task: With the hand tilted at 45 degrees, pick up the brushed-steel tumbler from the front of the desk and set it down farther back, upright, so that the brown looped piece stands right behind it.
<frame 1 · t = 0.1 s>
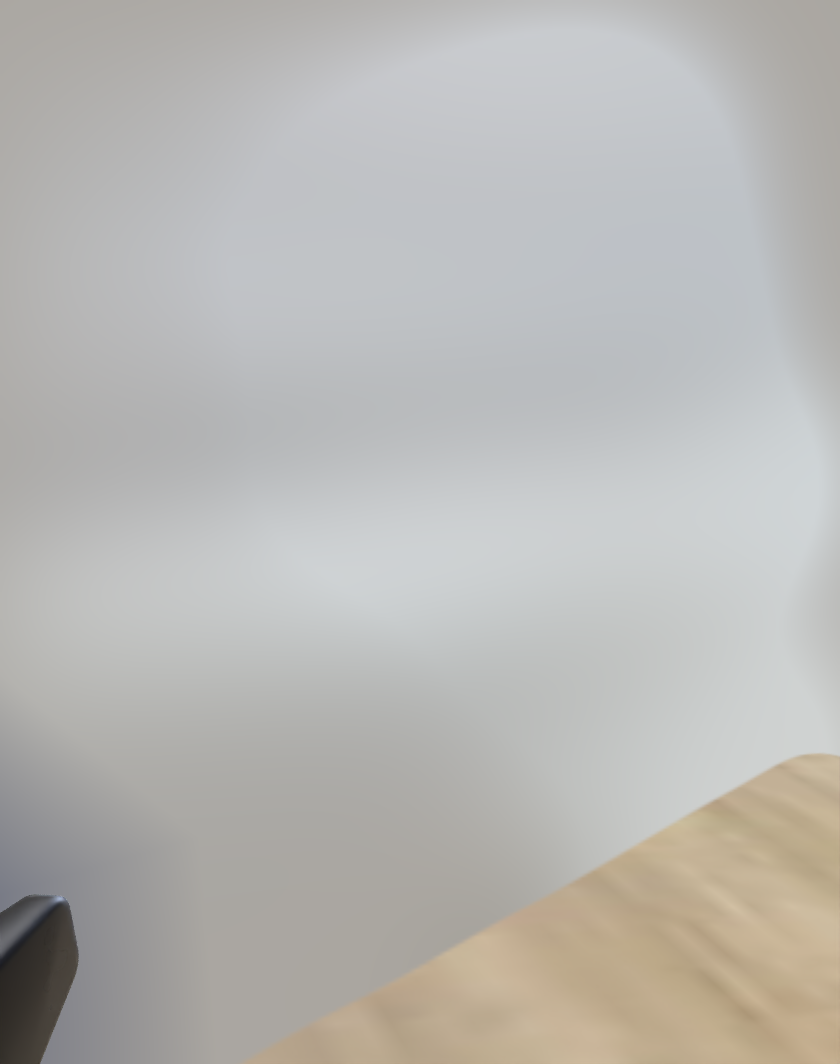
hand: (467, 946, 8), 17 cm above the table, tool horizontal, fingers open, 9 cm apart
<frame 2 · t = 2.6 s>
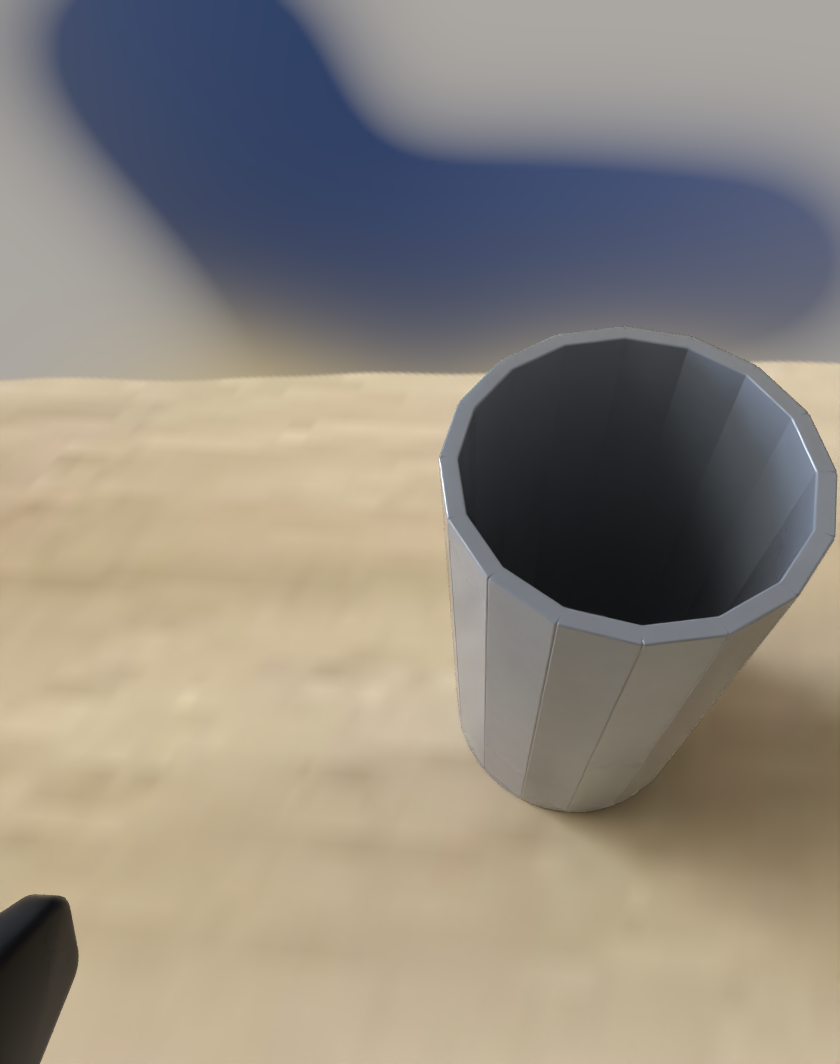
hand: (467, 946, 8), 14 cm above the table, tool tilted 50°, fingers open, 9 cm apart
tumbler: (565, 701, 24), on the table
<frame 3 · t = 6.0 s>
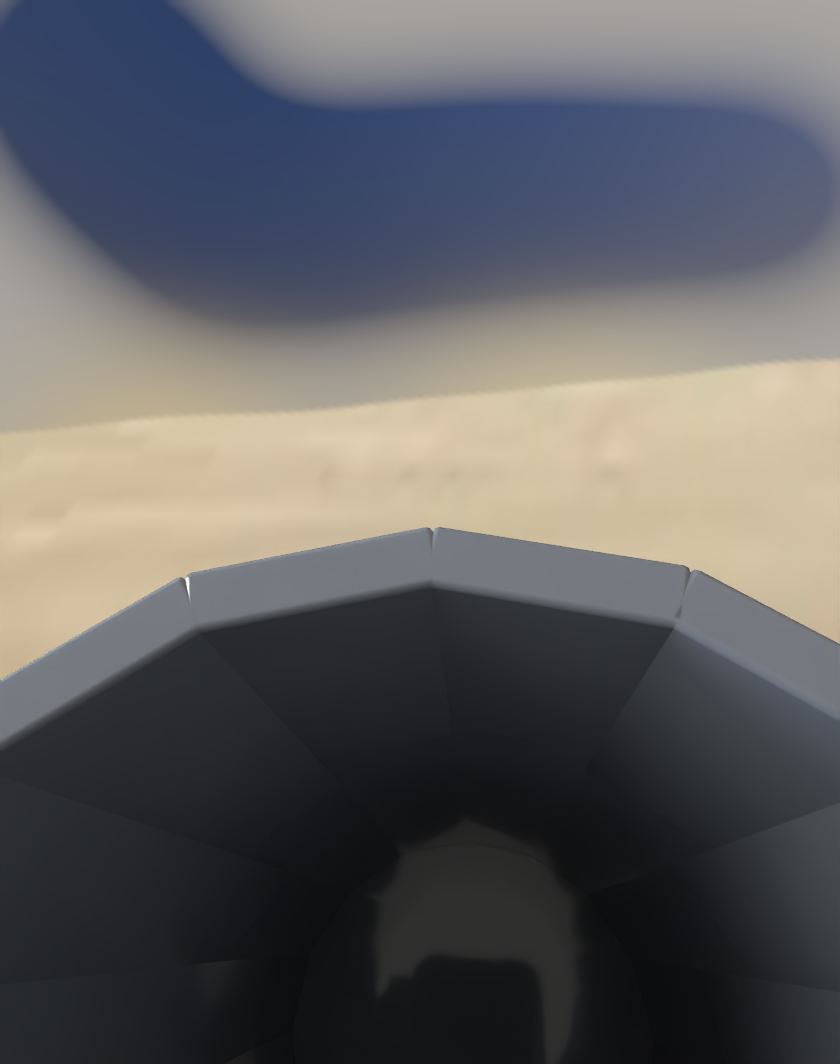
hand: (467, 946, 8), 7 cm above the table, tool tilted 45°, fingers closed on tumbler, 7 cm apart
tumbler: (470, 1030, 13), on the table, touching gripper
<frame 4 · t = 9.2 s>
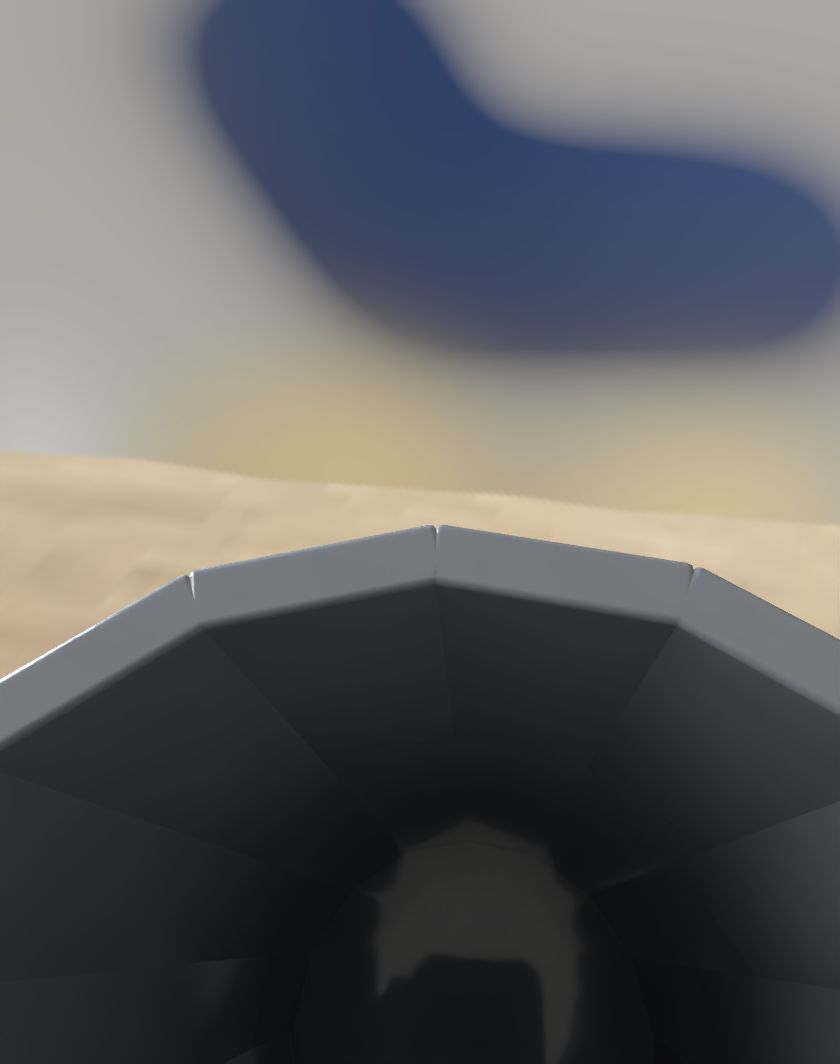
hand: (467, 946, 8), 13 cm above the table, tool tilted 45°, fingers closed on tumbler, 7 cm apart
tumbler: (471, 1029, 13), point 7 cm above the table, touching gripper
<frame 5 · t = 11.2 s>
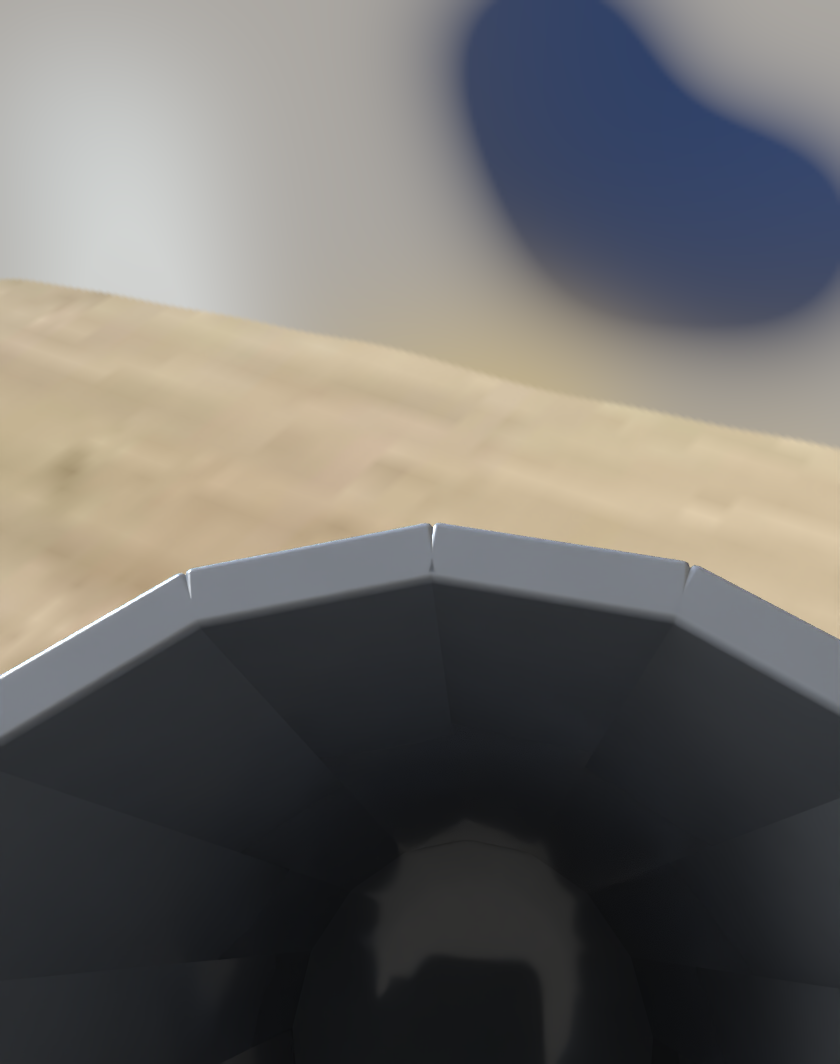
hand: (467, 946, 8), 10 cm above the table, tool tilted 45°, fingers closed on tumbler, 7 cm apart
tumbler: (470, 1028, 13), point 3 cm above the table, touching gripper
when the fingers open (7 cm above the table, at t = 12.7 s): tumbler stays where it is, on the table.
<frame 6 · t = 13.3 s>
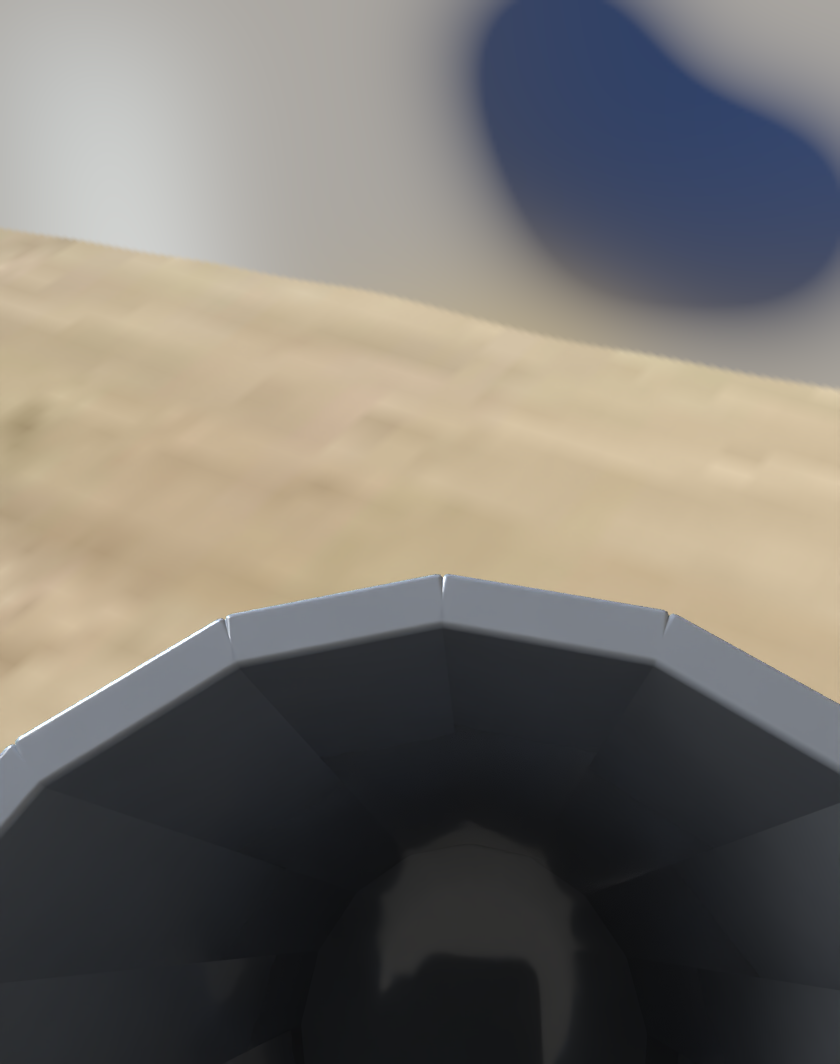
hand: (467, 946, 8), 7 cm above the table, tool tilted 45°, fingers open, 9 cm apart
tumbler: (471, 1025, 14), on the table
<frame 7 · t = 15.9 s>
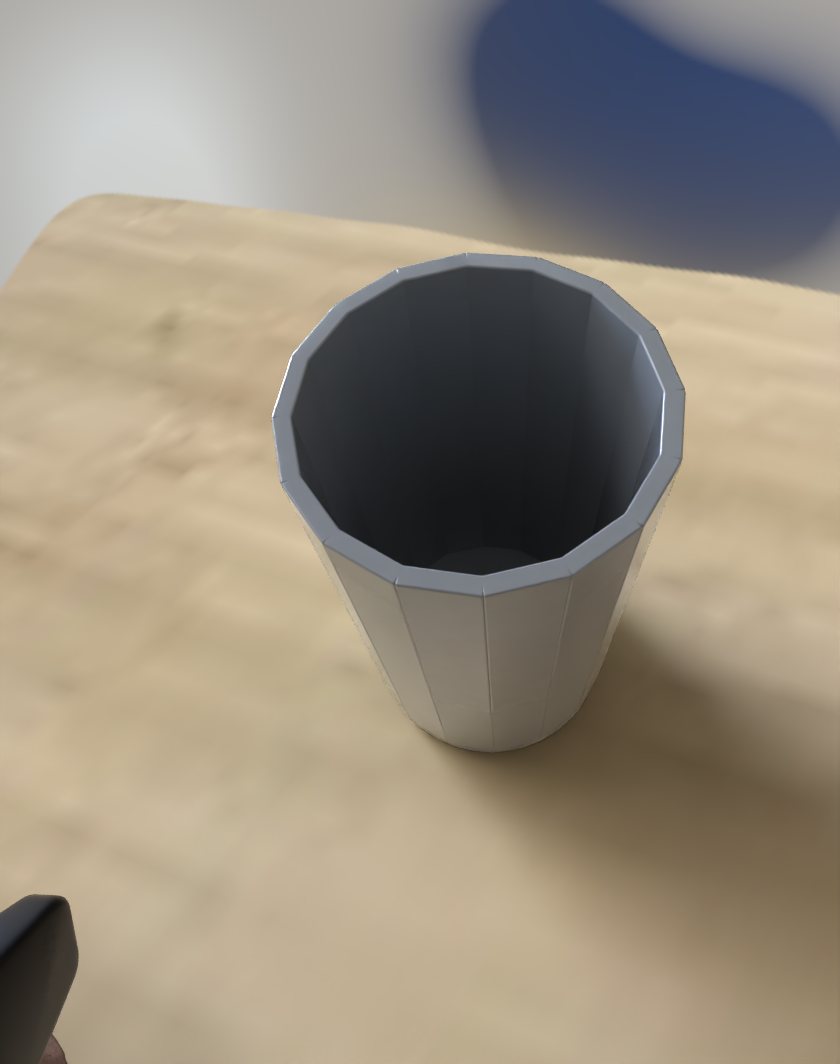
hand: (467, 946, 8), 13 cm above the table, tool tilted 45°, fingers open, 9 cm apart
tumbler: (488, 642, 24), on the table
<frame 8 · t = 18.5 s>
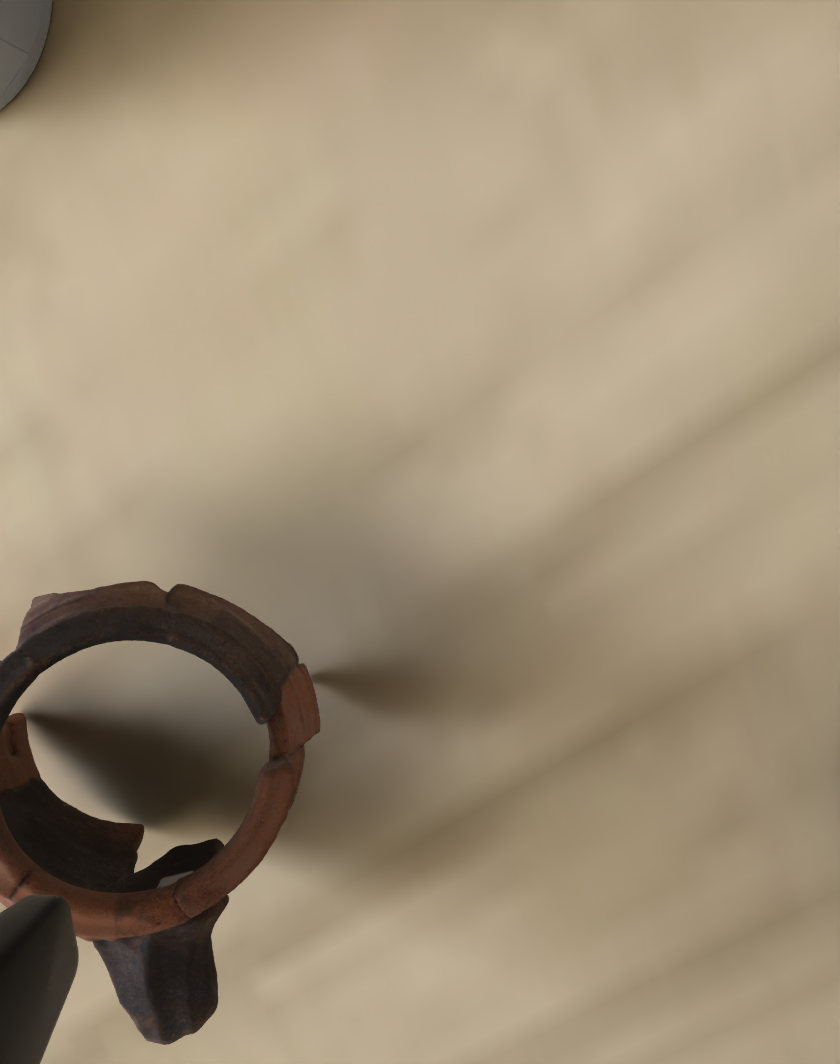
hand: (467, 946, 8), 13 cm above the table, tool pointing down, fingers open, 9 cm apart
brown looped piece: (182, 734, 23), on the table
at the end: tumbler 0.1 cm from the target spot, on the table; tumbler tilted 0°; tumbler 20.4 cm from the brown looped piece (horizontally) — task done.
